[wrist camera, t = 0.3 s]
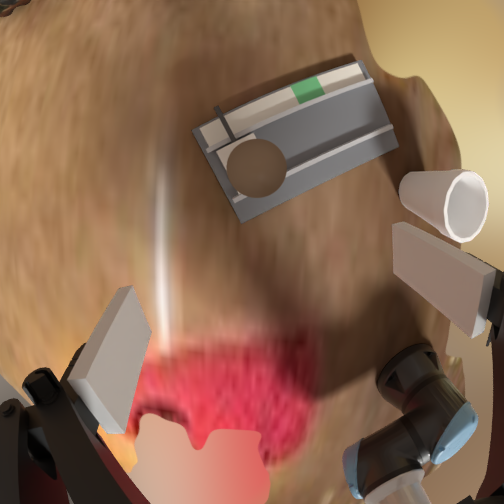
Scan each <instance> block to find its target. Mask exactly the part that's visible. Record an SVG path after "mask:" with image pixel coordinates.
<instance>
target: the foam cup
mask: <svg viewBox="0 0 504 504" xmlns="http://www.w3.org/2000/svg"><path fill="white" fill-rule="evenodd" d="M399 197H400V201H401V202H402V204H403V205H404V207H406V208H407V209H409V210H410V211H412V212H413V213H415V214H416V215H418V216H419V217H421V218H422V219H424V220H425V221H427V222H428V223H430V224H431V225H432V226H434V227H435V228H437V229H438V230H439V231H440V233H442V234H444V235H445V236H447V237H449V238H451V239H453V240H455V241H458V242H460V243H463V242H467V241H471V240H472V239H473V238H474V237H475V236H476V235H477V234H478V233H479V232H480V230H481V229H482V227H483V225H484V223H485V221H486V217H487V211H488V206H489V203H488V191H487V188H486V186H485V184H484V181H483V179H482V178H481V177H480V176H479V175H477V174H476V173H475V172H474V171H469V170H463V169H452V170H450V171H418V172H409V173H408V174H406V175H405V176H404V177H403V179H402V180H401V182H400V186H399Z"/></svg>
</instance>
